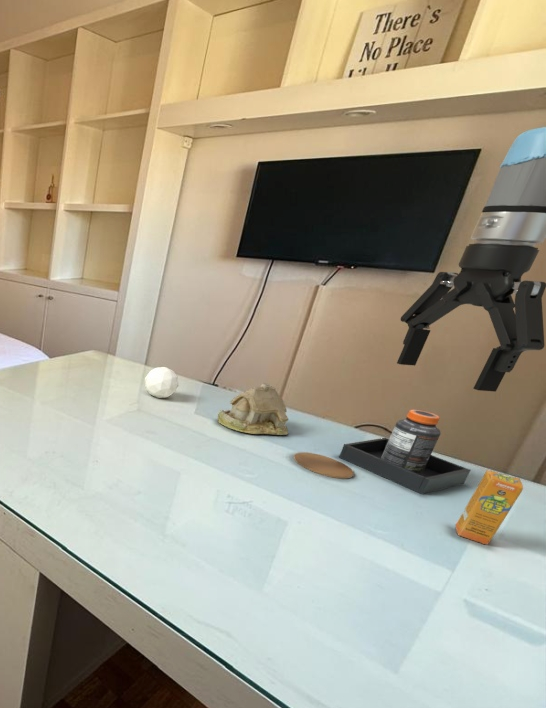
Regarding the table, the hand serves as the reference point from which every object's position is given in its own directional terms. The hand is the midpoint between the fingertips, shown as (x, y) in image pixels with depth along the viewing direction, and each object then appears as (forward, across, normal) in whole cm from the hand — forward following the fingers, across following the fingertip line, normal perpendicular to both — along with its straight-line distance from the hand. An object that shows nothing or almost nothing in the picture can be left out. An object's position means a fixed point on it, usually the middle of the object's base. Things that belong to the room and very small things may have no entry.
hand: (441, 376), depth 76 cm
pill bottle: (+19, -2, +3) cm, 19 cm away
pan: (+19, -2, +3) cm, 20 cm away
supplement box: (+20, +18, -4) cm, 27 cm away
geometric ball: (+19, -34, -31) cm, 50 cm away
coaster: (+19, -2, -12) cm, 23 cm away
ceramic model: (+19, -19, -16) cm, 31 cm away
